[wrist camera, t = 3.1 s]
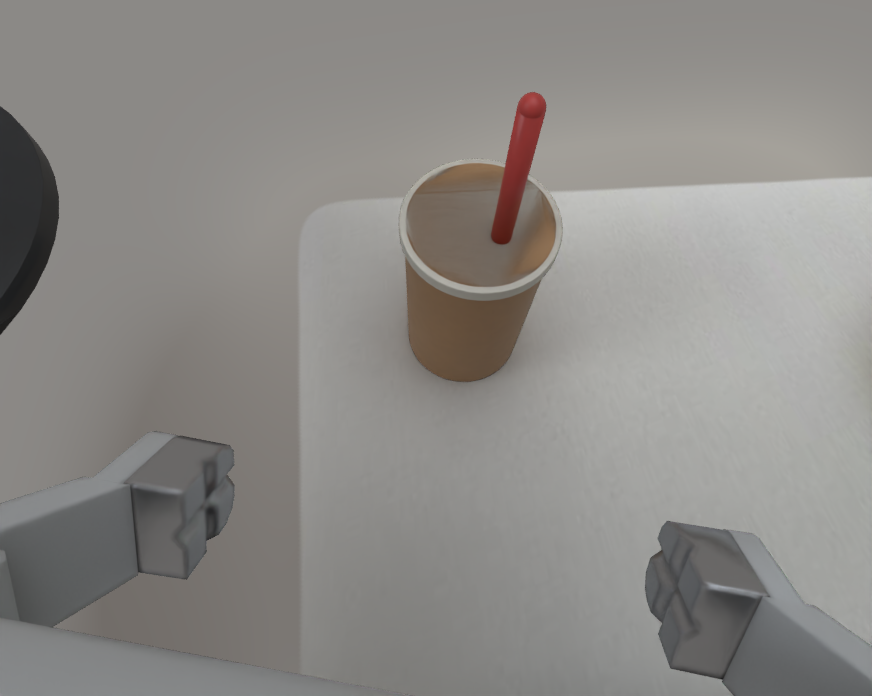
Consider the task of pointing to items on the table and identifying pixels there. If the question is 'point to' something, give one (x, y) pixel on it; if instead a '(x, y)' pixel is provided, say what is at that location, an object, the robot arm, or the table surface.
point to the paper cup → (477, 253)
